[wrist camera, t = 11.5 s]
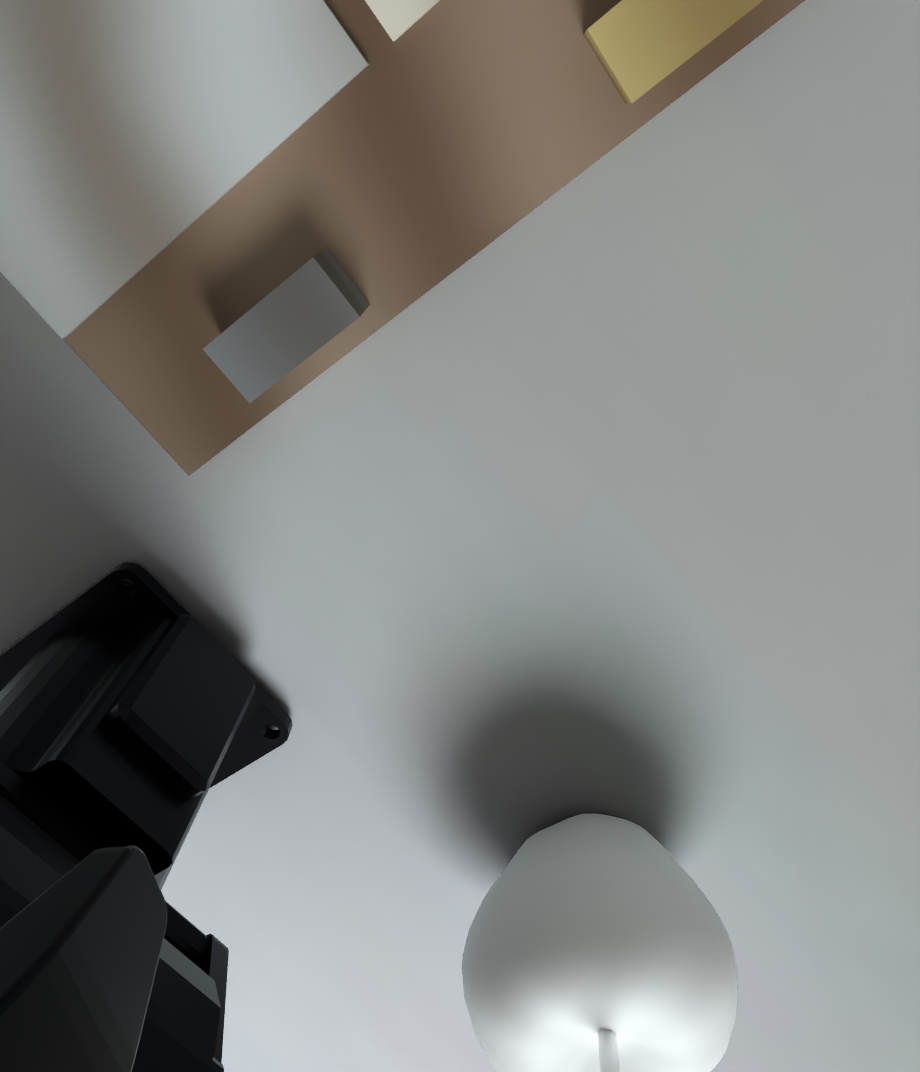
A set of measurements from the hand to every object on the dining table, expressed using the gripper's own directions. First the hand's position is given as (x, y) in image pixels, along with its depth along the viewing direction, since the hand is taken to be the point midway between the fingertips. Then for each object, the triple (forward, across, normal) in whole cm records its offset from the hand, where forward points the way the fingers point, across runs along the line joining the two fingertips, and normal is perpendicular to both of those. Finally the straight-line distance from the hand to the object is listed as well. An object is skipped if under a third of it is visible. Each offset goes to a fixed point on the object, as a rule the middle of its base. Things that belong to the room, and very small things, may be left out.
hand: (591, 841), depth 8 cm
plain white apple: (+13, +1, +14) cm, 19 cm away
